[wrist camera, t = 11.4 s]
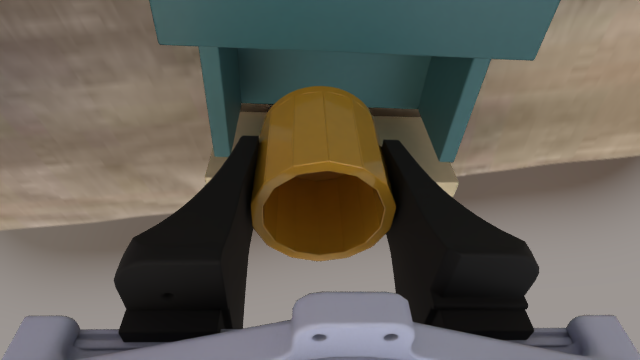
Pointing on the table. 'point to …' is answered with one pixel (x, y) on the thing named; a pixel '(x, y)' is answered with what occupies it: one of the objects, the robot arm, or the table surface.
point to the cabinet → (361, 26)
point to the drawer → (356, 78)
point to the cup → (321, 177)
